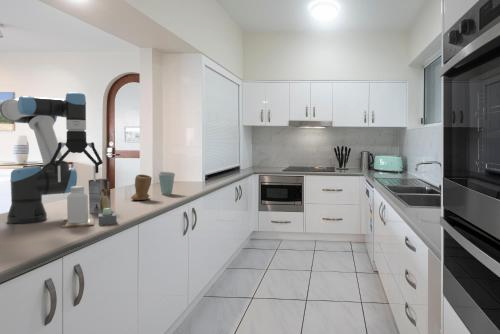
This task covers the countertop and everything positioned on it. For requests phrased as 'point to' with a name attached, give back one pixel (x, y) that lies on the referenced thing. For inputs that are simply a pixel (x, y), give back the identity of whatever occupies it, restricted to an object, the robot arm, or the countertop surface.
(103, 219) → the button housing
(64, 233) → the countertop surface
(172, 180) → the disposable coffee cup
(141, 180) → the stone cup
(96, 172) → the robot arm
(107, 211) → the button
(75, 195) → the pill bottle
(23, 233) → the countertop surface
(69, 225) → the clipboard
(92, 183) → the coffee box
